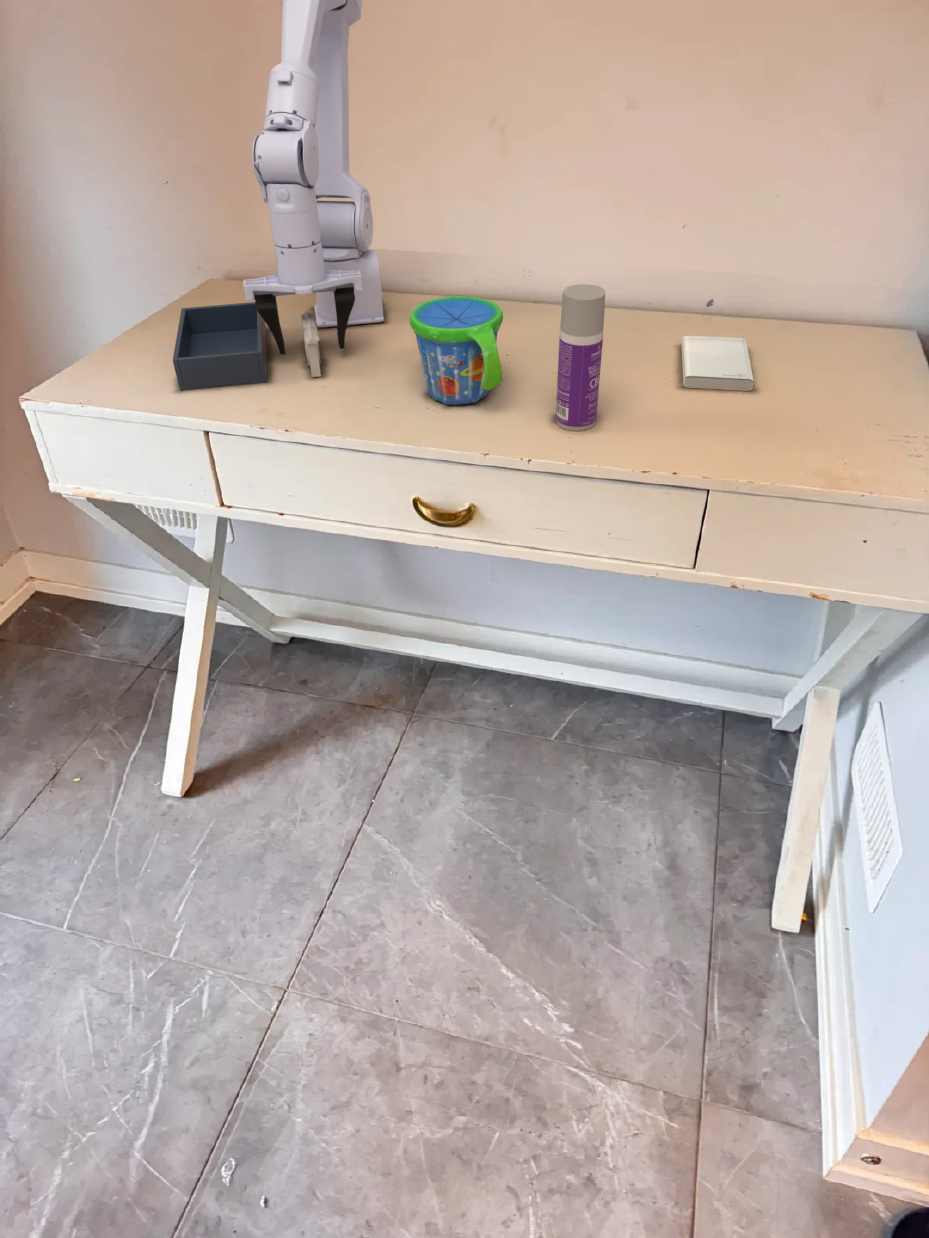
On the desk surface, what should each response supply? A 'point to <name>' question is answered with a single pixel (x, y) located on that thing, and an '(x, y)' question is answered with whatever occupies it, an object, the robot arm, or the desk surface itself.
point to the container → (579, 356)
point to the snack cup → (458, 347)
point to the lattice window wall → (311, 343)
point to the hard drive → (716, 363)
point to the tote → (220, 346)
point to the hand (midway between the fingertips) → (312, 348)
